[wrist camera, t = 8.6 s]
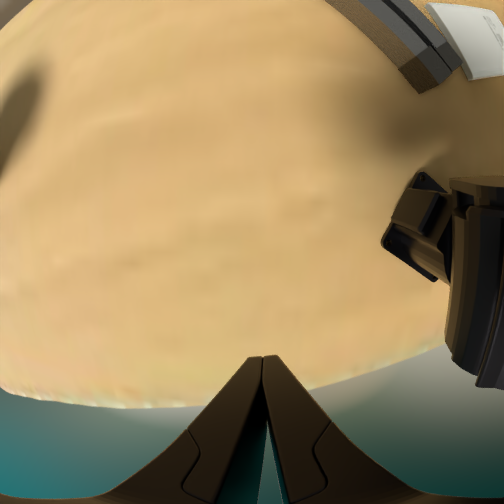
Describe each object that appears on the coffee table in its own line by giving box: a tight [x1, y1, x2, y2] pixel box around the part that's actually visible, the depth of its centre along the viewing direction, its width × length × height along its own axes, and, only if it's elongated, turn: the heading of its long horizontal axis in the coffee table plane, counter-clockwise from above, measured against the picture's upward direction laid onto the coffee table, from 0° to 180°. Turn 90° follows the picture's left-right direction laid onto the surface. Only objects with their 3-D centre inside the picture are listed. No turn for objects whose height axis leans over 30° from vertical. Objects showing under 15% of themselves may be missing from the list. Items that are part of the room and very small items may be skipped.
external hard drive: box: [424, 3, 504, 81], centre depth 12 cm, size 2×8×12 cm
